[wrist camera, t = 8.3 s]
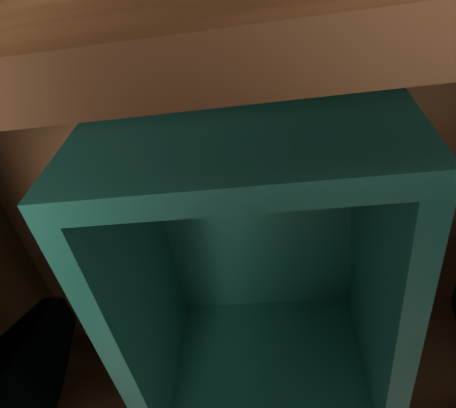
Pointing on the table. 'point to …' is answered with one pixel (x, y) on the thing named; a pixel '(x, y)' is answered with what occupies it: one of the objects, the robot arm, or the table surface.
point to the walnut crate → (199, 100)
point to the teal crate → (253, 249)
